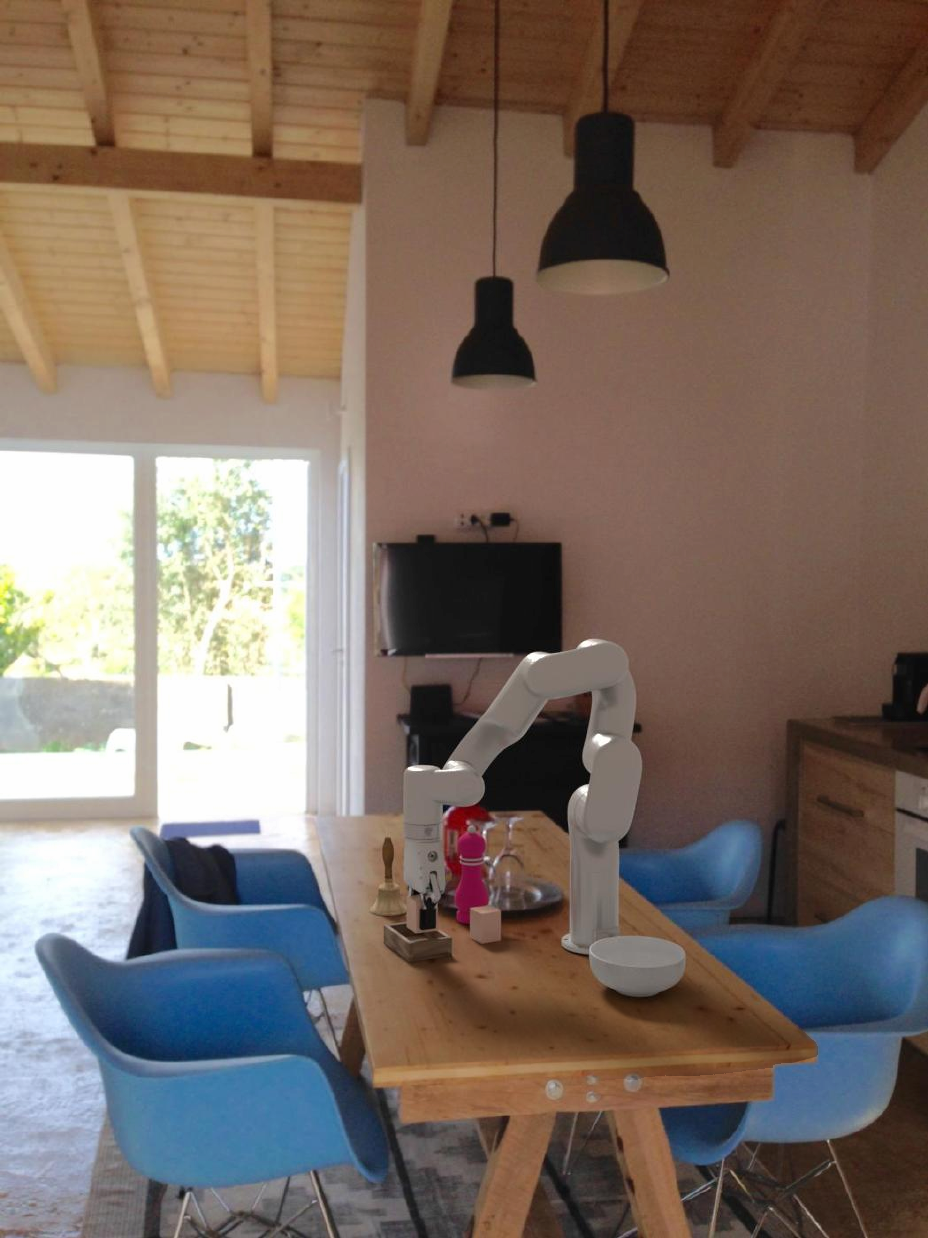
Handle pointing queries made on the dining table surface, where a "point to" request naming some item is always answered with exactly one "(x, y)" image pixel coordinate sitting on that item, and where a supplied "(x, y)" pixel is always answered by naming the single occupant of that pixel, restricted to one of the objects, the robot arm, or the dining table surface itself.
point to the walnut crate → (417, 942)
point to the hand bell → (388, 887)
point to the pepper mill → (470, 875)
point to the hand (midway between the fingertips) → (422, 924)
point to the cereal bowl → (637, 964)
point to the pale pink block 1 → (417, 914)
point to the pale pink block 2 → (485, 924)
